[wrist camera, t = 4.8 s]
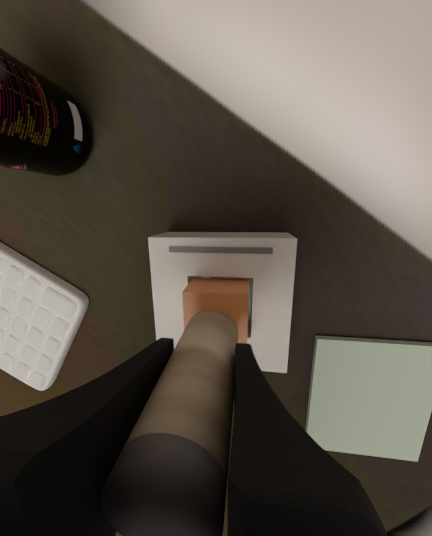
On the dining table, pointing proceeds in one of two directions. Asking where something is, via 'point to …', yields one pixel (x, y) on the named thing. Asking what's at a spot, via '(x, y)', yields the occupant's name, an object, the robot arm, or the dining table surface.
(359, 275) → the dining table surface
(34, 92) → the supplement container
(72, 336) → the calculator
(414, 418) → the sage board
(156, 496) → the tan lidded jar
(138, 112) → the dining table surface
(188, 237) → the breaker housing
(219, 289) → the button
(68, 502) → the robot arm
